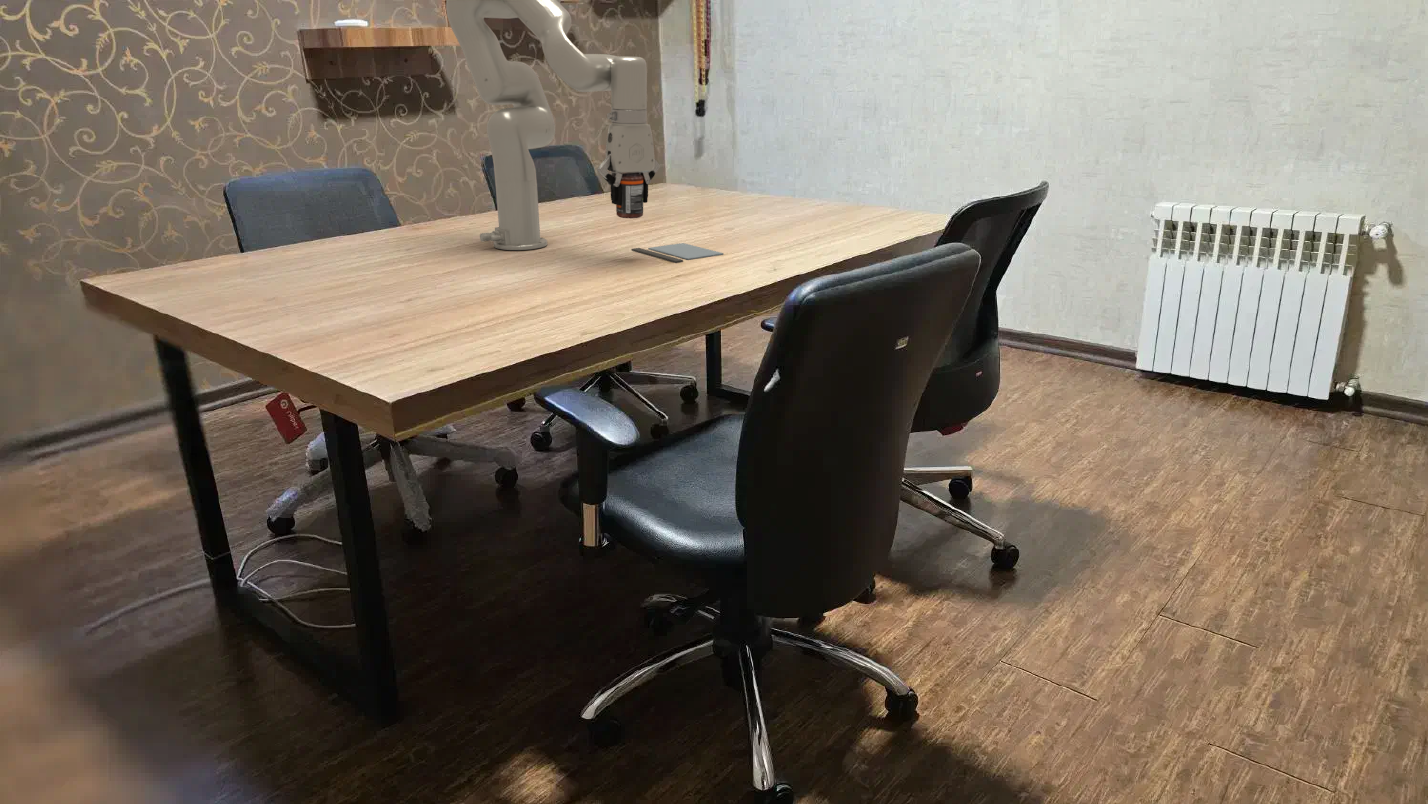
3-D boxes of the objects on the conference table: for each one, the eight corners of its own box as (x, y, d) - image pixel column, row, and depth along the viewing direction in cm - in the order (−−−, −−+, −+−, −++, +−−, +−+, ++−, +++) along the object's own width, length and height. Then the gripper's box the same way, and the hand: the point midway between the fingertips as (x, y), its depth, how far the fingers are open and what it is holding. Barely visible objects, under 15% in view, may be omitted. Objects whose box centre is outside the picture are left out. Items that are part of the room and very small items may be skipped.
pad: (687, 260, 215) (687, 258, 215) (648, 249, 227) (648, 247, 227) (723, 254, 221) (723, 253, 221) (682, 244, 233) (682, 243, 233)
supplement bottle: (612, 215, 215) (611, 163, 211) (637, 213, 217) (637, 162, 213) (621, 219, 210) (621, 166, 206) (647, 218, 212) (647, 165, 208)
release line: (675, 263, 212) (675, 261, 212) (631, 250, 226) (631, 248, 226) (683, 261, 213) (683, 260, 213) (638, 249, 227) (638, 247, 227)
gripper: (603, 120, 198) (604, 209, 205) (672, 118, 208) (671, 202, 215) (584, 117, 204) (586, 203, 210) (653, 115, 214) (652, 197, 220)
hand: (629, 202), depth 212 cm, fingers closed on supplement bottle, 6 cm apart
